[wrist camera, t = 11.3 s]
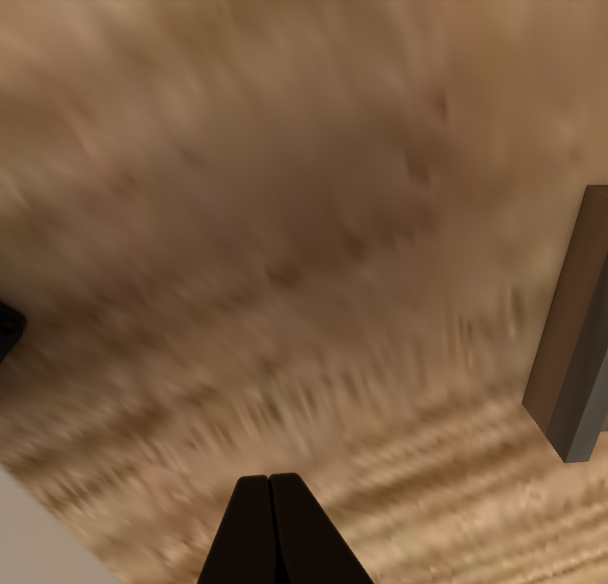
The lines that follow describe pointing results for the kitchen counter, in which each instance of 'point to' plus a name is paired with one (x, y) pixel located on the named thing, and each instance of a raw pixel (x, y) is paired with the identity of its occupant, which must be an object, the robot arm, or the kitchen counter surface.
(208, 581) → the robot arm
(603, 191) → the panel
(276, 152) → the kitchen counter surface
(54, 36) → the kitchen counter surface
